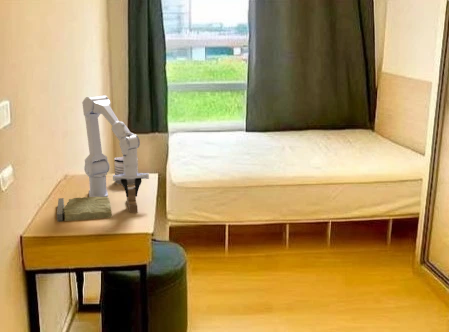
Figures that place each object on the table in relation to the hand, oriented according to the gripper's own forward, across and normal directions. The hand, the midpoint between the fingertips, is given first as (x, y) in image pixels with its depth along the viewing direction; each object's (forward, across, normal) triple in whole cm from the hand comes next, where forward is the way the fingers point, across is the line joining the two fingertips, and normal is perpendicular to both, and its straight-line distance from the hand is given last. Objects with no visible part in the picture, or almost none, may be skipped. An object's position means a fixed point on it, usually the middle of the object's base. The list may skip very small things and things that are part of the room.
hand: (131, 196), depth 231 cm
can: (+5, +1, +37) cm, 37 cm away
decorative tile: (+5, -18, -2) cm, 19 cm away
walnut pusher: (+4, 0, 0) cm, 5 cm away
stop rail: (+4, -28, -2) cm, 29 cm away
